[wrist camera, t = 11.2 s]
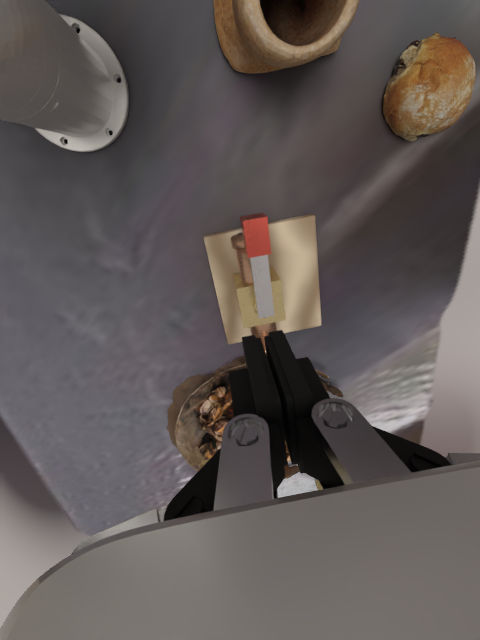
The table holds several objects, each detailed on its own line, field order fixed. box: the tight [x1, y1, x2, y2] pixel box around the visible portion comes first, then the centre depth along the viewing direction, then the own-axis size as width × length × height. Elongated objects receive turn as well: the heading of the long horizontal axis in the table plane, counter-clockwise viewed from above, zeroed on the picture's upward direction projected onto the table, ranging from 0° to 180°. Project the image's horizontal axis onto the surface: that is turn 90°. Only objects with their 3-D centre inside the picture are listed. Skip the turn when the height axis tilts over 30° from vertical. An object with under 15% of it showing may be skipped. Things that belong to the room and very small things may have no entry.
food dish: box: [167, 356, 343, 479], centre depth 59 cm, size 35×33×8 cm
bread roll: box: [383, 33, 475, 141], centre depth 37 cm, size 10×10×8 cm
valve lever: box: [240, 213, 275, 318], centre depth 36 cm, size 13×3×4 cm, turn 9°
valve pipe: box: [231, 232, 286, 353], centre depth 44 cm, size 6×18×7 cm, turn 10°
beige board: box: [204, 214, 321, 344], centre depth 48 cm, size 16×18×2 cm
